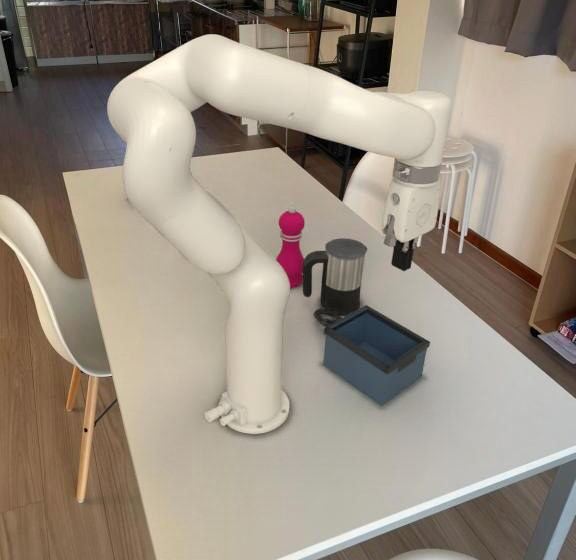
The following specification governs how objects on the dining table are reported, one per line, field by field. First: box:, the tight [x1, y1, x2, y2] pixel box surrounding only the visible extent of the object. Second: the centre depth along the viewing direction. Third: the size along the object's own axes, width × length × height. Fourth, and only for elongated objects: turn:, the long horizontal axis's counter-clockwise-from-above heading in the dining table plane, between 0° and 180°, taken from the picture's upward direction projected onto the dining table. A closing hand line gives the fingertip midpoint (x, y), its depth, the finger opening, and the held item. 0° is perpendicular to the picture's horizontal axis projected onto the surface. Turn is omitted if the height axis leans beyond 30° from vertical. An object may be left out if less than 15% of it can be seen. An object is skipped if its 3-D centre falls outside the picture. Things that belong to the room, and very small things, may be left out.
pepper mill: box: [275, 205, 306, 289], centre depth 136 cm, size 7×7×20 cm
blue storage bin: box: [322, 304, 431, 406], centre depth 111 cm, size 9×16×12 cm
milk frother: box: [302, 237, 368, 328], centre depth 126 cm, size 14×16×15 cm
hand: (400, 266), depth 104 cm, fingers closed
